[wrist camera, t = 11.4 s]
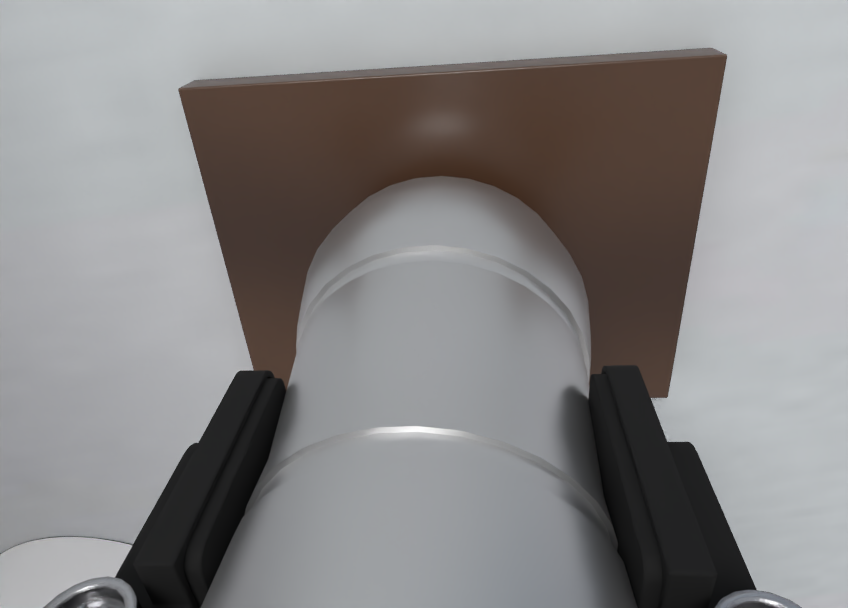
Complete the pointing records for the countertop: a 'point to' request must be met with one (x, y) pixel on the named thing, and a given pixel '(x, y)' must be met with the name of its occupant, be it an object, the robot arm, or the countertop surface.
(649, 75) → the walnut board
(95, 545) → the canister
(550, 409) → the silver bottle
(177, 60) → the countertop surface
